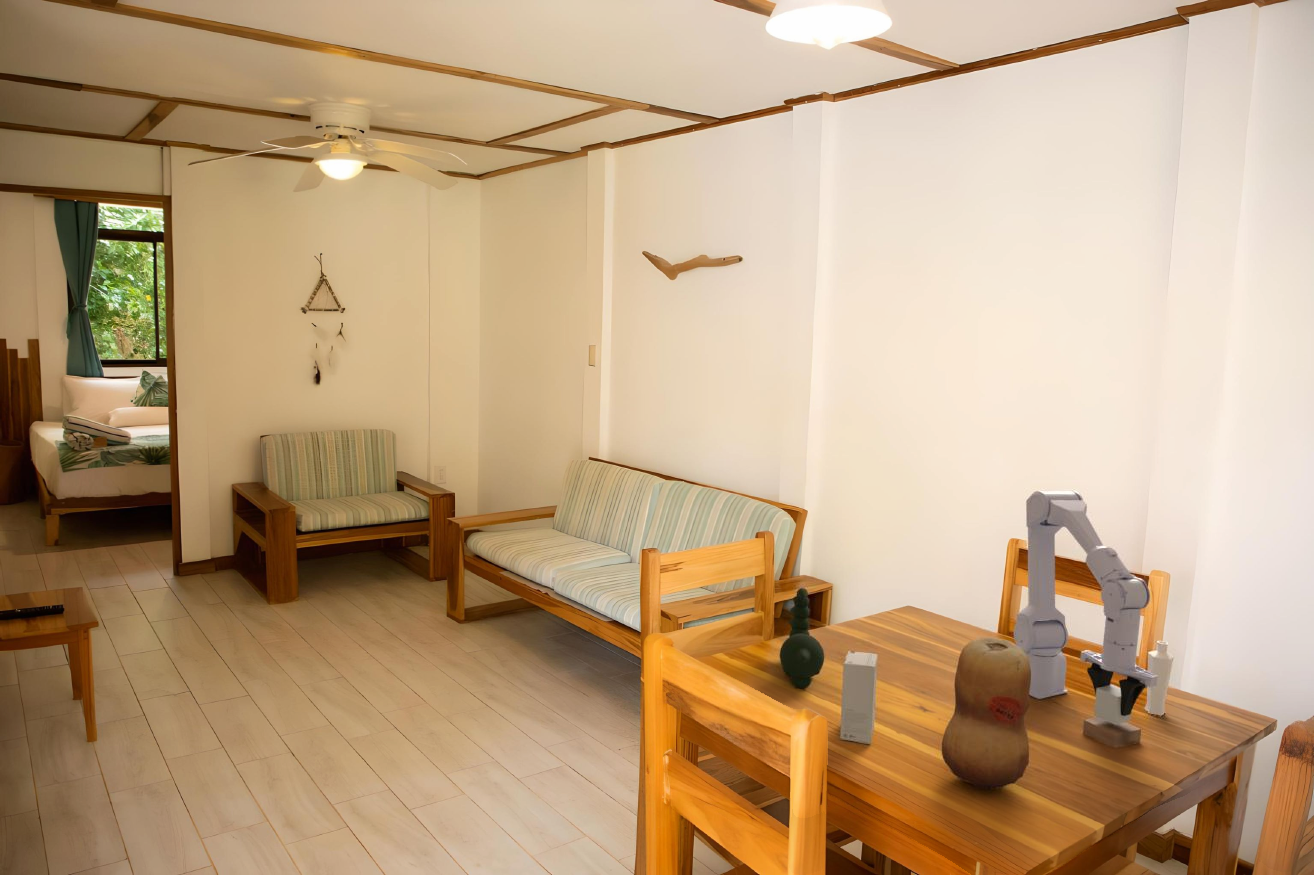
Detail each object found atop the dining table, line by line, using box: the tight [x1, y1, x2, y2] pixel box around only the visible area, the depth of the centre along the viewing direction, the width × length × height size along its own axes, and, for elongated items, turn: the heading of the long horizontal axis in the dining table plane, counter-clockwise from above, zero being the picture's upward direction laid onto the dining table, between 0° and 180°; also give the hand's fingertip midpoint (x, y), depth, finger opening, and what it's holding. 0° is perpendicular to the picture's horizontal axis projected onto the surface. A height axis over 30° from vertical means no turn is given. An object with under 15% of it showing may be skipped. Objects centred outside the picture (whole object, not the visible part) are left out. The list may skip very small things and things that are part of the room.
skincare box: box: [839, 650, 878, 745], centre depth 168 cm, size 8×6×15 cm
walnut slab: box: [1082, 716, 1142, 749], centre depth 171 cm, size 7×7×3 cm
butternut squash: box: [941, 636, 1031, 790], centre depth 149 cm, size 14×13×25 cm
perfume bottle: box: [1144, 640, 1174, 715], centre depth 183 cm, size 5×4×15 cm
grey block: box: [1093, 684, 1132, 725], centre depth 170 cm, size 4×4×6 cm
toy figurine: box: [779, 587, 825, 689], centre depth 195 cm, size 9×19×25 cm
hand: (1113, 709), depth 170 cm, fingers closed on grey block, 4 cm apart
